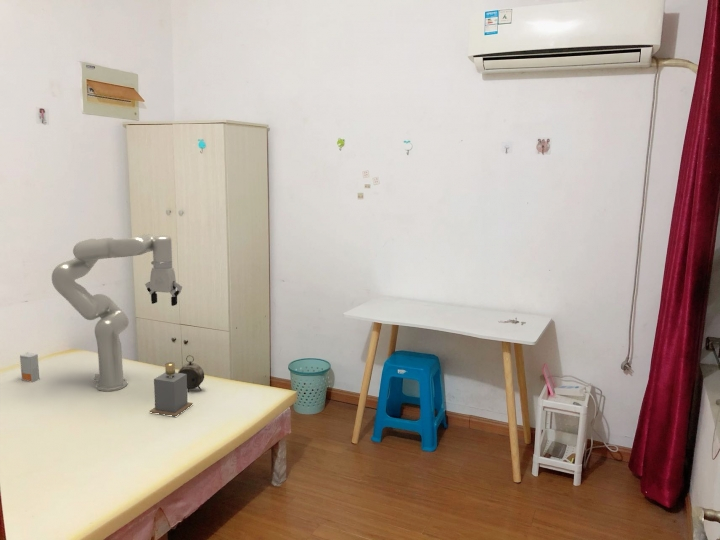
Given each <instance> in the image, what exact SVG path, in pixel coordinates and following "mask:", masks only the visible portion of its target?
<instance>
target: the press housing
mask: <svg viewBox="0 0 720 540" xmlns="http://www.w3.org/2000/svg"><path fill="white" fill-rule="evenodd" d="M153 385H154V386H153V389H154V391H153V393H154V407H153V408H151V409H150V410H149V413H150V412H152V413H159V414H165V415H172V416H177V415H178V414H180V413H181V412H183V411H184V410H186V409H187V408H188V407H190V406H191V405H192V404H193V405H194V403H193V402H188V389H187V374H183V373H178V372H176V371H175V374H173V375H172V378H169V375H166V371H165V372H163V373H162V374H160V375H158V376H156V377H155V378H153ZM193 405H192V406H193ZM192 406H191V407H192ZM191 407H190V408H191ZM188 409H189V408H188ZM188 409H187V410H188ZM187 410H186V411H187ZM184 412H185V411H184ZM184 412H183V413H184ZM152 413H151V414H152ZM180 415H181V414H180Z"/></svg>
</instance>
